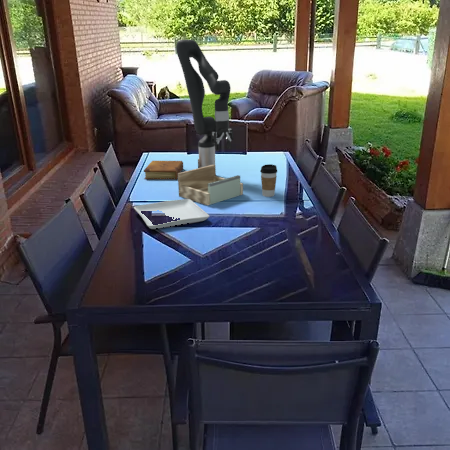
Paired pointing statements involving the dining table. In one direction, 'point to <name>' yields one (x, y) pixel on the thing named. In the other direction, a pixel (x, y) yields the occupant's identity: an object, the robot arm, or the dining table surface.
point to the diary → (163, 170)
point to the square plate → (174, 212)
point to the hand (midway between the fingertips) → (223, 149)
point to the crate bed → (198, 184)
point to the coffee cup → (268, 179)
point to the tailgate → (224, 189)
